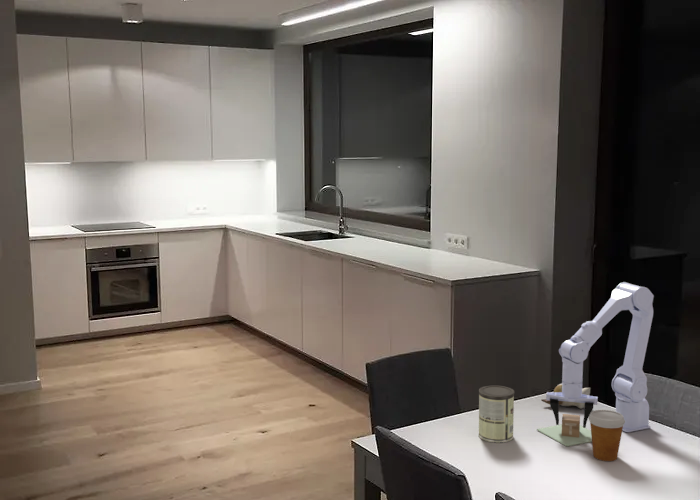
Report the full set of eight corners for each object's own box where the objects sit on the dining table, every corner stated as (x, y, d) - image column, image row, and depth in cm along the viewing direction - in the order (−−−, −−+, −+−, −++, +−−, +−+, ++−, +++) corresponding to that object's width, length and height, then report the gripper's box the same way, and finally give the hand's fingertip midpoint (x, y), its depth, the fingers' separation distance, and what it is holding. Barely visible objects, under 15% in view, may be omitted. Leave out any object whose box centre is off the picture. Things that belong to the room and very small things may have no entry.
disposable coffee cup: (616, 466, 204) (618, 423, 202) (582, 458, 209) (583, 416, 208) (628, 455, 211) (630, 413, 210) (594, 447, 217) (595, 406, 215)
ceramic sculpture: (586, 387, 243) (540, 383, 250) (587, 413, 244) (540, 409, 251) (593, 378, 252) (548, 375, 259) (594, 404, 253) (548, 400, 260)
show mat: (573, 423, 236) (573, 422, 236) (605, 439, 223) (605, 437, 223) (536, 430, 230) (536, 429, 230) (566, 446, 218) (566, 445, 217)
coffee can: (476, 429, 231) (477, 384, 229) (511, 430, 230) (512, 385, 228) (479, 442, 221) (480, 395, 219) (515, 443, 220) (516, 396, 218)
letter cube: (562, 429, 229) (562, 413, 229) (579, 431, 228) (580, 415, 227) (561, 435, 225) (562, 419, 224) (579, 437, 223) (579, 421, 222)
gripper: (546, 382, 223) (544, 427, 225) (598, 387, 218) (596, 432, 220) (547, 375, 229) (546, 419, 231) (598, 380, 225) (596, 424, 227)
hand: (570, 425), depth 226 cm, fingers open, 7 cm apart
